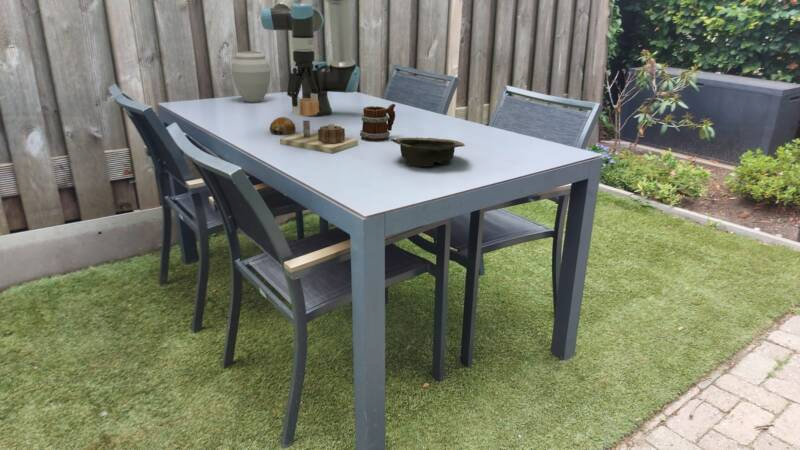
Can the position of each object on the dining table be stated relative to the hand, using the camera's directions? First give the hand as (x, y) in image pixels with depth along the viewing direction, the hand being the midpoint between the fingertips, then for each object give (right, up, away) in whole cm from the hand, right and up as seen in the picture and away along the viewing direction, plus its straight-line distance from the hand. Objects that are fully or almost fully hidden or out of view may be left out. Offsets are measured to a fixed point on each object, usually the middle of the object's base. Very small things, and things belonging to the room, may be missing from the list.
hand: (305, 113), depth 209 cm
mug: (+26, -7, +14) cm, 30 cm away
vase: (-41, +22, +83) cm, 95 cm away
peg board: (+5, -11, +1) cm, 12 cm away
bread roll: (-12, -4, +19) cm, 23 cm away
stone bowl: (+44, -20, -16) cm, 51 cm away
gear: (0, 0, 0) cm, 0 cm away
